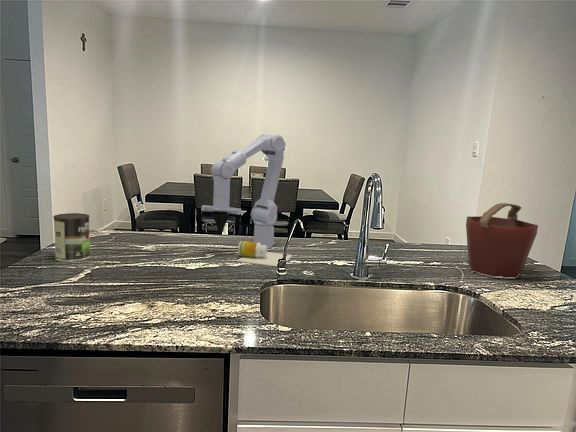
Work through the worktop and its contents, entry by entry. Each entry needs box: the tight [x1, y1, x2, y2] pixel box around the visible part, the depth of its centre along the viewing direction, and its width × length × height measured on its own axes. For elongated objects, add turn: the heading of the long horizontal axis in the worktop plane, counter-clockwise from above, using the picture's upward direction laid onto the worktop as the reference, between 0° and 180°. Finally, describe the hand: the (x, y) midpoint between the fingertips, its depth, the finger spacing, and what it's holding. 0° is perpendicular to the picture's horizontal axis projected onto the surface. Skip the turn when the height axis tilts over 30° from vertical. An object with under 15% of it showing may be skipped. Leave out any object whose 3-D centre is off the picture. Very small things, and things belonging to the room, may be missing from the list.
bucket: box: [465, 202, 539, 277], centre depth 146 cm, size 24×22×25 cm
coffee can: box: [52, 212, 91, 263], centre depth 135 cm, size 10×10×14 cm
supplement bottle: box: [237, 240, 268, 258], centre depth 148 cm, size 5×5×10 cm
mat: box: [236, 251, 294, 268], centre depth 148 cm, size 16×16×1 cm
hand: (220, 232), depth 151 cm, fingers closed
